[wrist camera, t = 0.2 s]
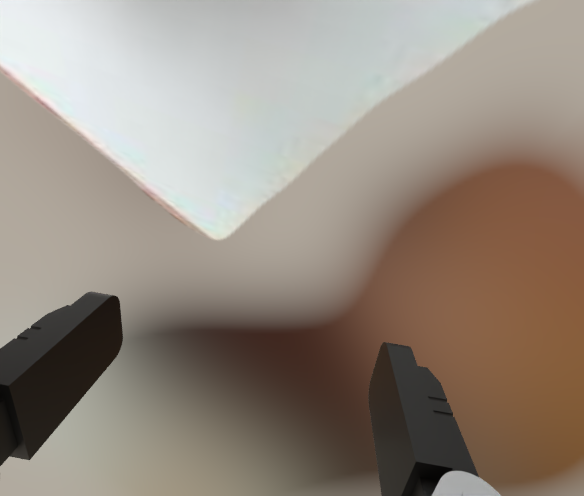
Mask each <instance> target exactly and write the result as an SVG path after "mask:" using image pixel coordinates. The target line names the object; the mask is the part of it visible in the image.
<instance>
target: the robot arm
mask: <svg viewBox="0 0 584 496" xmlns="http://www.w3.org/2000/svg"><path fill="white" fill-rule="evenodd" d="M122 341H123V334H122V322H121V311H120V301H119V299H118V297H116V296H113V295H108V294H101V293H96V292H88V293H86V294H85V295H84V296H82V297H81V298H80V299H78V300H77V301H76V302H74V303H73V304H72V305H71V306H69V305H67V306H65V307H62V308H60V309H57V310H55V311H53V312H51V313H48V314H47V315H45V316H44V317H42V318H41V319H40V320H38V321H37V322H36V323H34V324H33V325H32V326H31V328H30V329H29V328H28V329H26V330H25V331H24V332H22V333H21V334H20V335H18V337H17V339H13V340H12V341H10V342H9V343H7V344H6V345H5V346H4V347H2V348H1V349H0V466H1V465H2V464H3V463H4V461H5V460H6V459H7V458H8V457H9V456H11V457H16V458H21V459H27V460H30V459H31V458H32V457H33V455H34V454H35V453H36V452H37V451H38V450H39V448H40V447H41V446H42V445H43V443H44V442H45V441H46V440H47V439H48V438H49V436H50V435H51V434H52V433H53V432H54V430H55V429H56V428H57V427H58V426H59V425H60V423H61V422H62V421H63V420H64V419H65V417H66V416H67V415H68V414H69V413H70V411H71V410H72V409H73V408H74V407H75V406H76V404H77V403H78V402H79V401H80V399H81V398H82V397H83V396H84V395H85V394H86V392H87V391H88V390H89V389H90V388H91V386H92V385H93V384H94V383H95V382H96V381H97V379H98V378H99V377H100V376H101V375H102V373H103V372H104V371H105V370H106V369H107V367H108V366H109V365H110V364H111V363H112V361H113V360H114V359H115V358H116V356H117V355H118V353H119V351H120V348H121V345H122ZM369 409H370V415H371V422H372V430H373V437H374V444H375V451H376V458H377V465H378V472H379V479H380V486H381V494H382V496H501V495H500V494H499V493H498V492H497V491H496V490H495V489H494V488H493V487H492V486H490V485H489V484H488V483H486V482H485V481H484V480H482V479H481V478H479V476H478V474H477V471H476V469H475V466H474V464H473V461H472V459H471V456H470V454H469V452H468V449H467V447H466V444H465V442H464V439H463V437H462V435H461V432H460V430H459V427H458V425H457V422H456V420H455V418H454V417H453V413H452V410H451V408H450V405H449V403H447V398H446V396H445V393H444V391H443V388H442V386H441V383H440V382H439V381H438V380H437V379H436V377H435V376H434V375H433V374H432V373H431V372H430V370H429V369H428V368H425V367H420V366H417V363H416V360H415V358H414V355H413V352H412V349H411V348H410V347H409V346H404V345H398V344H392V343H386V342H384V343H383V344H382V345H381V347H380V351H379V354H378V357H377V361H376V364H375V367H374V370H373V374H372V377H371V381H370V385H369Z"/></svg>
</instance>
